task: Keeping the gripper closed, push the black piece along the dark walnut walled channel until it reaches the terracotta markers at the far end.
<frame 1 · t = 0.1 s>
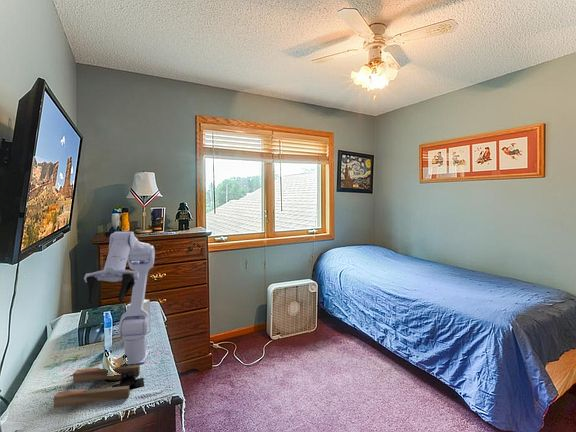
hand: (105, 301, 87), 32 cm above the table, tool tilted 50°, fingers open, 7 cm apart
black piece: (127, 387, 100), on the table
walled channel: (100, 388, 99), on the table
skincare box: (139, 334, 137), on the table
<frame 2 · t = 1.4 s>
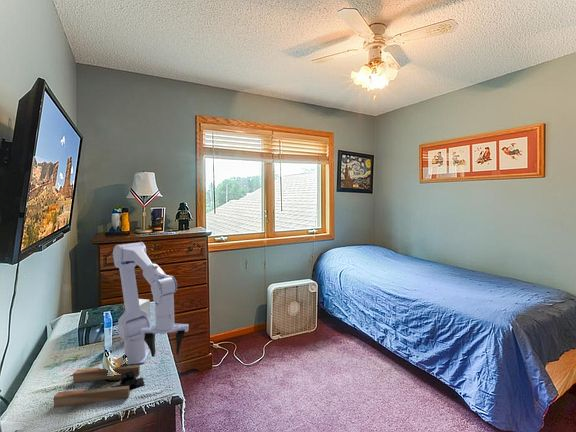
hand: (165, 353, 102), 9 cm above the table, tool pointing down, fingers open, 7 cm apart
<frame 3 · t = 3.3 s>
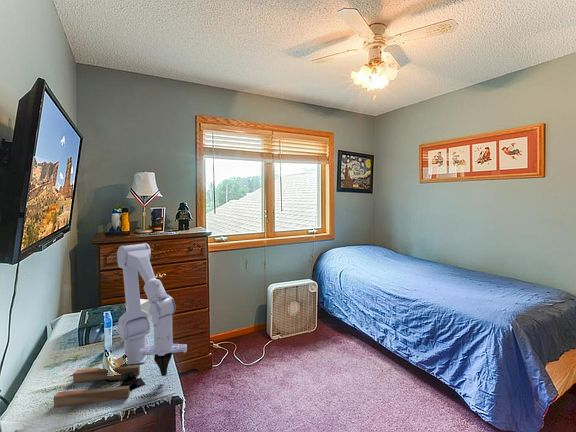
hand: (164, 374, 102), 2 cm above the table, tool pointing down, fingers closed
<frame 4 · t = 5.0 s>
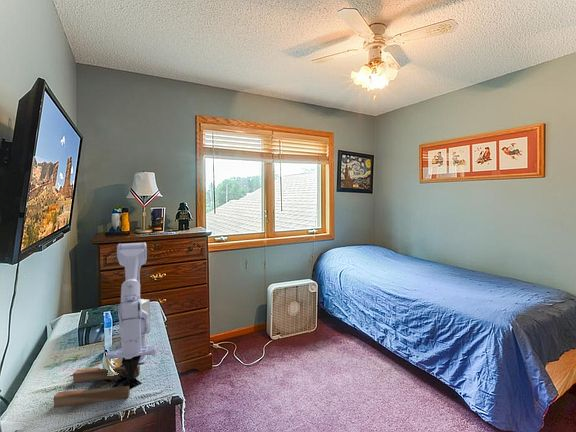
hand: (132, 377, 100), 2 cm above the table, tool pointing down, fingers closed
black piece: (120, 389, 99), on the table, touching gripper
everything else where it was.
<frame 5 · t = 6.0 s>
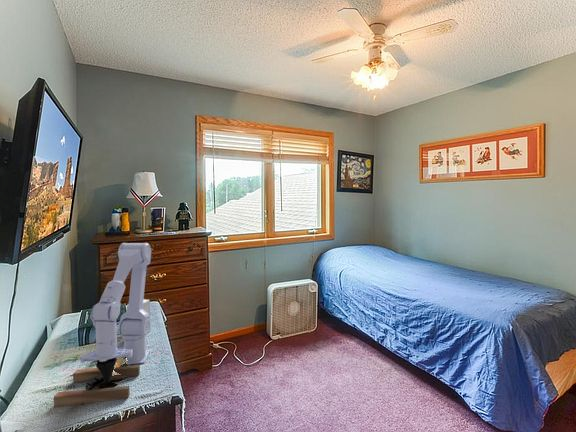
hand: (108, 380, 99), 2 cm above the table, tool pointing down, fingers closed
black piece: (95, 393, 97), on the table, touching gripper, walled channel
everything else where it was.
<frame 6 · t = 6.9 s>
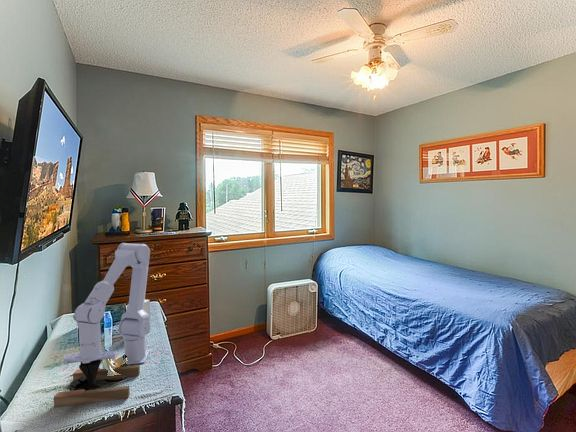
hand: (92, 382, 98), 2 cm above the table, tool pointing down, fingers closed
black piece: (79, 394, 97), on the table, touching gripper
everything else where it was.
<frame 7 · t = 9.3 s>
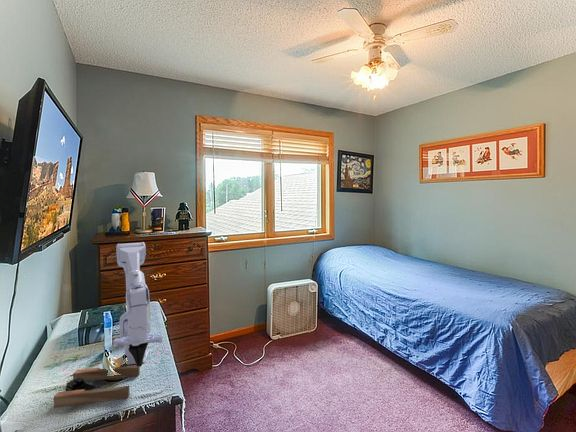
hand: (139, 364, 101), 7 cm above the table, tool pointing down, fingers closed
black piece: (76, 395, 96), on the table
everything else where it was.
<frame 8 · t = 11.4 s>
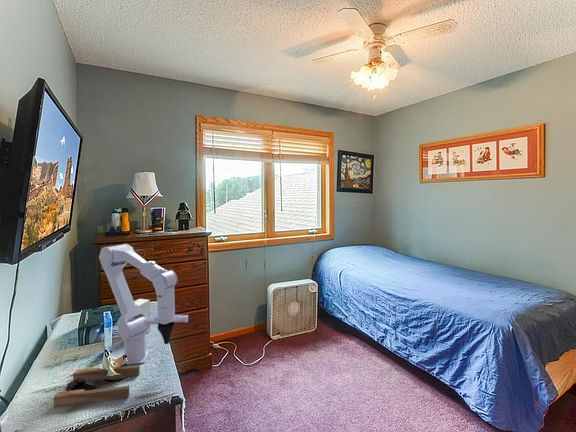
hand: (167, 342, 110), 9 cm above the table, tool pointing down, fingers closed
nothing on the table moved.
at the end: black piece inside the target area (1.6 cm from its centre), on the table; black piece tilted 0°; black piece moved 14.4 cm from its start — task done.
